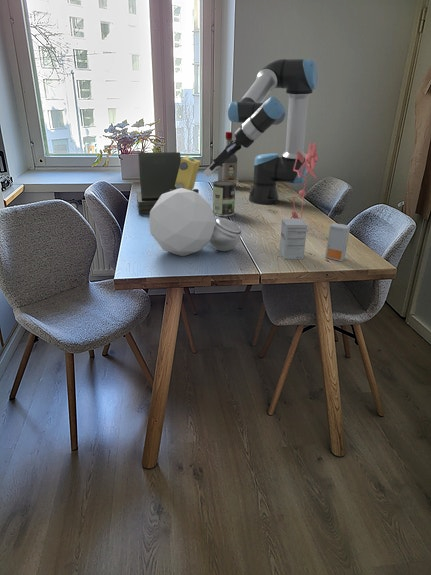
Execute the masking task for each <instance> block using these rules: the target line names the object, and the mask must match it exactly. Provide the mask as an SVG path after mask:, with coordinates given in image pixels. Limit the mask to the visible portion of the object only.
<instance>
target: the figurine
mask: <svg viewBox="0 0 431 575" xmlns="http://www.w3.org/2000/svg"><path fill="white" fill-rule="evenodd" d="M317 150H318V148H317V142H314V143H313V142H312V141H310V142H309V143H308V147H307V153H305V154H306V155H305V162H304V157H303V155H302V154H301V153H300V151H298V152H297V157H296V161H295V165H294V170H293V171H296V172H297V173H298V177H299V179H300V177H301V175H302V172H303V170H304V167H306V172H307V174H310V176H311V177H313V179H315V180H316V181H317V180H318V178H317V176H316V174H315V169H316V163H317V162H318V161H319V154H318V153H317ZM297 159H299V160H300V162H301V163H303V162H304V163H303V165H304V166H303V165H302V166H301V167H300V169H301V168H302V167H303V169H302V171H301V173H300V172H299V171H300V169H299V170H295V166H296V162H297ZM306 162H307V164H306ZM299 174H300V176H299ZM302 176H303V177H304V178H305V180H304V186H303V189H300V190H299V192H298V194H297V195H293V197H292V200H293V201H292V202H293V211H292V212H291V217H290V218H289V219H302V217H303V206H304V199H305V196H306V193H307V192H306V191H305V188H306V185H307V182H308V178H307V176H306V177H305V176H304V175H302ZM298 196H300V197H302V202H301V211H300V216H299V215H298V213H297V212H296V206H295V198H296V197H298ZM305 221H306V222H307V220H304V222H305ZM308 222H310V223H311V221H310V220H308ZM312 223H313V224H316V222H314V221H312ZM317 225H318V226H320V224H318V223H317ZM321 228H323V225H321ZM307 233H309V230H308V229H307Z"/></svg>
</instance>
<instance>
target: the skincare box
mask: <svg viewBox="0 0 431 575" xmlns="http://www.w3.org/2000/svg"><path fill="white" fill-rule="evenodd" d="M350 231H351V225H348V224H343V223H336V222H333V223H331V225H330V227H329V231H328V238H327V244H326V250H325V258H326V259H331V260H334V261H335V260H336V261H338V262H343V260H344V259H345V258H346V254H347V249H348V248H347V247H348V241H349V235H350Z"/></svg>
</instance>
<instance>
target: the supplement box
mask: <svg viewBox="0 0 431 575" xmlns="http://www.w3.org/2000/svg"><path fill="white" fill-rule="evenodd" d="M281 219H282V220H281V227H280V228H281V229H280V237H279V238H280V239H279V250H278V252H279V254H280V255H281V257H282V256H283V257H282V259H284V260H303V259H304V258H305V257H304V256H305V255H304V254H305V247H306V240H307V234H308V232H307V230H308V224H307V223H306V222H305V220H303V219H302V218H301V219H294V218H292V219H290V218H281Z"/></svg>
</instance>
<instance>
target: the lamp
mask: <svg viewBox="0 0 431 575" xmlns="http://www.w3.org/2000/svg"><path fill="white" fill-rule="evenodd" d="M148 224H149V231H150V235H151V236H152V237H153V239H154V240H155V241H156V242H157V244H158V245H159V247H161V249H162V251H164V252H168V253H170V254H175V255H178V256H181V257H185V256H189V255H191V254H194V253H196V252H199V251H201V250H203V248H204V247H206V245H208V243H209V244H210V246H211V247H212V248H214V249H215V250H216V251H217V250H218V251H220V252H228V251H231V250H234V248H236V247H237V246H238V244H239V243H240V242H241V236H242V230H241V229H240V226H239V225H238V224H237V223H235V222H234V221H232V220H230V219H228V218H225V217H224V218H223V217H219V218H216V217H215V215H214V214H213V208H212V206H211V204H210V203H209V202H208V201H207V200H206V199H205V197H204V196H203V195H202V194H200V193H199V194H198V193H197V192H194V191H191V190H187V189H184V188H179V189H176V190H173V191H170V192H167V193H164V194H162V195H161V196H160V198H159V199H158V201H157V202H156V204H155V205H154V207H153V208H152V210H151V211H150V214H149V222H148Z"/></svg>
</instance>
